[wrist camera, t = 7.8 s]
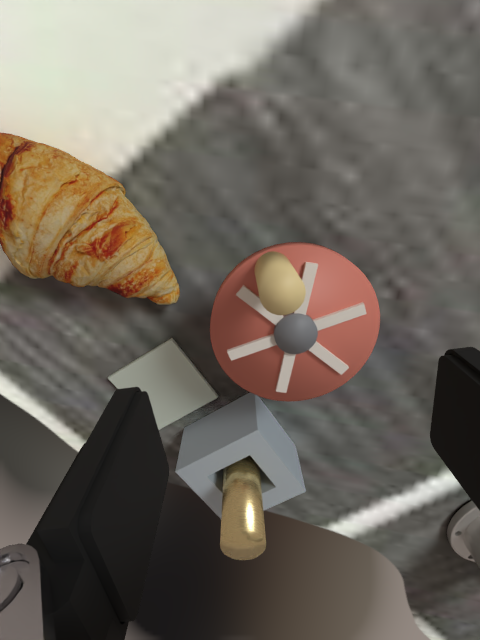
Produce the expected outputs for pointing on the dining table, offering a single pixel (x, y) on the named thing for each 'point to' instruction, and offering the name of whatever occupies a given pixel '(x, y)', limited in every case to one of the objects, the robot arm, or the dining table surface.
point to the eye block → (239, 452)
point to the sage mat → (166, 382)
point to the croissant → (76, 225)
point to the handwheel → (294, 322)
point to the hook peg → (242, 511)
